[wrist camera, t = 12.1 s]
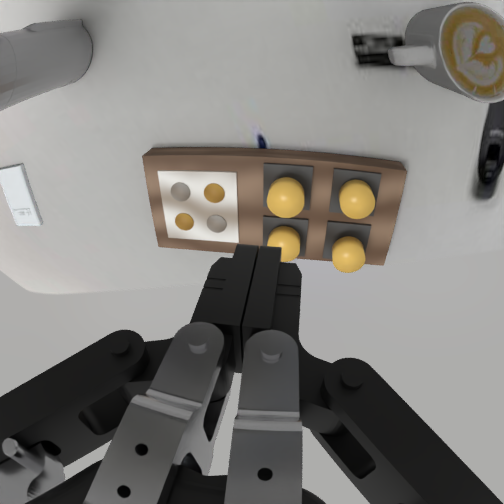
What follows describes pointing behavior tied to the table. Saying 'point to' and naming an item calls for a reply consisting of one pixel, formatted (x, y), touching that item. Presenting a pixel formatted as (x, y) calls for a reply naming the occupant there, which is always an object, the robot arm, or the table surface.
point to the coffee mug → (457, 49)
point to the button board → (255, 198)
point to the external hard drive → (20, 196)
